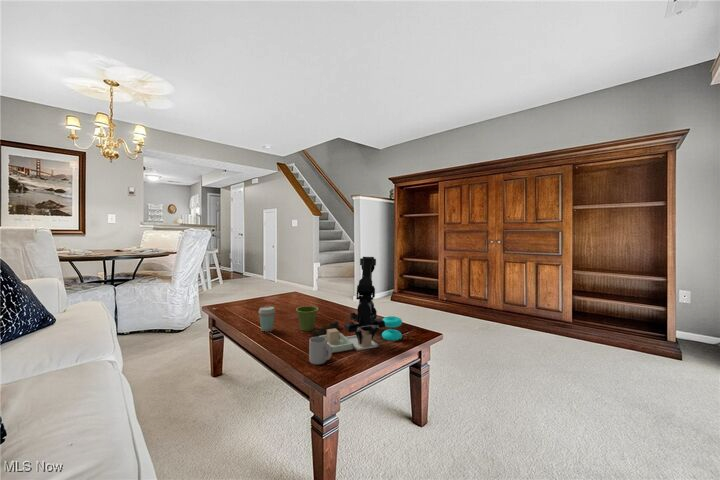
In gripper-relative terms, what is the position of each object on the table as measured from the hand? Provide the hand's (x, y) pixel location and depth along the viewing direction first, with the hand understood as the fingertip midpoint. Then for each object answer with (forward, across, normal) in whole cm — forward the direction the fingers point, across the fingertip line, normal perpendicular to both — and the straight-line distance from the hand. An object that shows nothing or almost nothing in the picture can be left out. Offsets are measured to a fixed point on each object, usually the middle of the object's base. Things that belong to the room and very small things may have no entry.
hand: (364, 343), depth 141 cm
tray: (+2, 0, -4) cm, 5 cm away
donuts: (+2, -18, -4) cm, 18 cm away
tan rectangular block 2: (+1, 0, 0) cm, 1 cm away
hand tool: (+2, +10, -25) cm, 27 cm away
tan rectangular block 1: (+1, +12, -10) cm, 16 cm away
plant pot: (+2, +18, -34) cm, 39 cm away
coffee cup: (+2, +38, -42) cm, 56 cm away
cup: (+2, +24, +6) cm, 24 cm away
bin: (+2, +12, -6) cm, 14 cm away
